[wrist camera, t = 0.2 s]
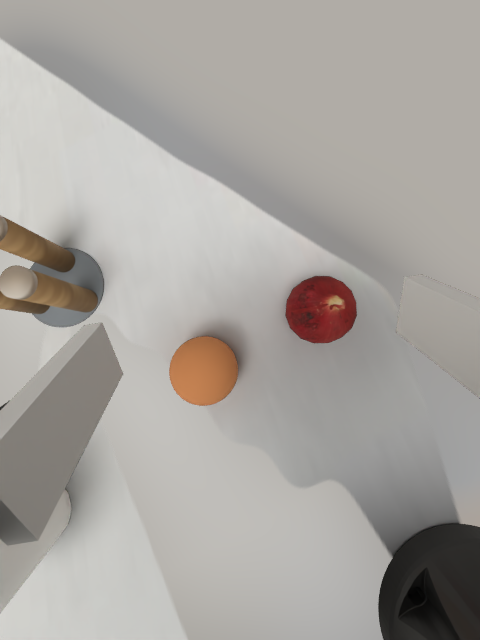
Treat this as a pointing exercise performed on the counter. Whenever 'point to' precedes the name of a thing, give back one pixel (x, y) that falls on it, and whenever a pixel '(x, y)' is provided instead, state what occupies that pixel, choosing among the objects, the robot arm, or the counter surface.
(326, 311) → the onion
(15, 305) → the pin
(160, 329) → the counter surface
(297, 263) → the counter surface
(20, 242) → the pin
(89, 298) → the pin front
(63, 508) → the foam cup
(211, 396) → the ball
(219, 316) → the counter surface
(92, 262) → the pin spot
